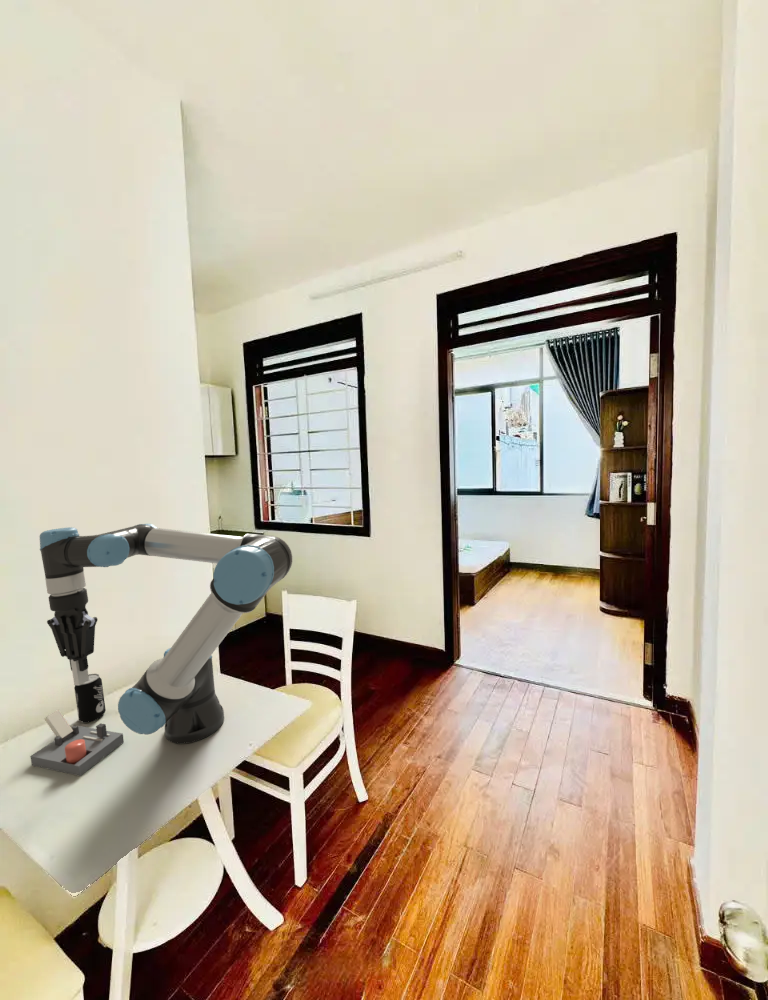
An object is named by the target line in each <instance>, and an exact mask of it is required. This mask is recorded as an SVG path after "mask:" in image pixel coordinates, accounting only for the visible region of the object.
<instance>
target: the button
mask: <svg viewBox="0 0 768 1000" xmlns="http://www.w3.org/2000/svg"><path fill="white" fill-rule="evenodd" d="M65 754H66V761H67V763H69V764H76V763H77V762H79V761H80V760H81V759H83V758H84V757H85V756H87V754H86V746H85V740H83V739H79V740H75V741H73V742H71V743H69V744H68V745H66V747H65Z"/></svg>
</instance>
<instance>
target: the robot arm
mask: <svg viewBox="0 0 768 1000" xmlns="http://www.w3.org/2000/svg"><path fill="white" fill-rule="evenodd" d="M39 551H40V555H41V559H42V560H41V561H42V565H43V566H42V567H43V570H44V571H43V572H44V577H45V579H44V580H45V585H46V586H45V587H46V592H47V594H49V596H48V604H49V609H50V611H52V612H54V616H53V617H52V618H50V619H47V621H46V623H47V624H48V626H49V627H50V629H51V631H52V635H53V638H54V640H55V643H56V646H57V648H58V651H59V653H60V656H61V657H63V658H64V657H66V659H67V660H69V666H70V670H71V672H72V678H73V683H74V684H73V685H74V686H75V685H81V684H83V683H84V682H86V681H88V680H89V670H88V669H89V663H88V661H89V660H88V656H89V655H91V654H93V653H94V652H95V639H96V638H95V636H96V635H95V634H96V626H97V625H96V624H97V623H98V617H97V616H94V617H92V616H90V615H89V611H88V610H87V608H86V607H87V606H86V605H87V604H88V602H89V597H88V589H87V588H85V587H86V586H87V584H86V583H87V582H86V578H85V572H84V570H85V569H84V568H108V567H114V566H119V565H121V564H123V563H124V561H125V560H126V559H128V558H131V557H133V556H136V555H141V556H147V557H148V556H150V557H157V558H158V557H159V558H167V559H176V560H184V561H193V562H202V563H209V564H210V563H211V564H215V567H214V571H213V575H212V579H211V581H210V583H209V590H210V592H211V593H210V594H209V596H208V597H206V599H205V600H204V602H203V603H202V605H201V606H200V608H199V609H198V610H197V612H196V613H195V614H194V616H193V617H192V618H191V620H190V622H189V623H188V624H187V625H186V627H185V628H184V629H183V630H182V631H181V634H180V635H179V636H178V638H177V639H176V641H175V642H174V643H173V644H172V645H171V647H170V648H168V649H166V650H165V651H164V652H163V658H159V659H156V660H155V661H154V660H153V662H152V663H151V664H150V665H149V666H148V668H147V669H146V671H145V672H144V673H143V674H142V675H141V677H140V678H139V680H138V681H137V682H136V683H135V684H134V685H133V686H131V687H130V688H127V689H126V690H125V692H124V693H123V694H122V695H121V696H120V697H119V700H118V703H117V710H118V714H119V717H120V719H121V721H122V723H123V724H124V725H125V726H126V727H127V728H128V729H129V730H131V731H133V732H134V733H136V734H138V735H152V734H154V733H156V732H157V731H159V729H162V728H163V727H164V735H165V738H166V740H167V741H168V742H170V743H173V744H177V745H178V744H179V745H180V744H181V745H182V744H183V745H185V744H190V743H193V742H197V741H201V740H203V739H205V738H207V737H209V736H211V735H213V734H214V733H215V732H216V731H217V730H219V728H221V727H222V725H223V724H224V722H225V712H224V708H223V706H222V704H221V703H220V700H219V697H218V696H217V694H216V689H215V688H216V687H215V681H214V680H215V678H214V665H213V654H214V652H215V651H216V650H217V648H218V647H219V646H220V644H221V643H222V642H223V640H224V639H225V637H227V635H228V634H229V632H230V631H231V630H232V629H233V627H234V626H235V624H236V623H237V622H238V621H239V619H240V618H241V617H242V615H243V614H248V613H251V612H253V611H254V610H255V609H256V607H257V606H258V605H259V604H260V603H261V601H262V600H263V599H264V598H265V597H266V595H267V594H268V592H269V591H270V590H271V589H272V588H273V587H274V586H275V585H276V584H278V582H280V581H282V579H284V578H285V577H286V576H287V575H288V574H289V572H290V570H291V568H292V565H293V553H292V550H291V548H290V546H289V544H287V542H286V541H284V540H283V539H282V538H280V537H278V536H275V535H269V534H259V533H245V535H243V536H237V535H230V534H229V535H227V534H217V533H208V532H200V531H199V532H198V531H188V530H181V529H180V530H179V529H177V530H176V529H169V528H160V527H157V526H156V525H155V524H152V523H139V524H135V525H133V526H129V527H125V528H122V529H121V528H120V529H116V530H113V531H109V532H105V533H99V534H94V535H80V534H79V531H78V529H77V528H76V527H72V526H71V527H61V528H54V529H53V528H52V529H49V530H44V531H42V532H41V533H40V534H39Z"/></svg>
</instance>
